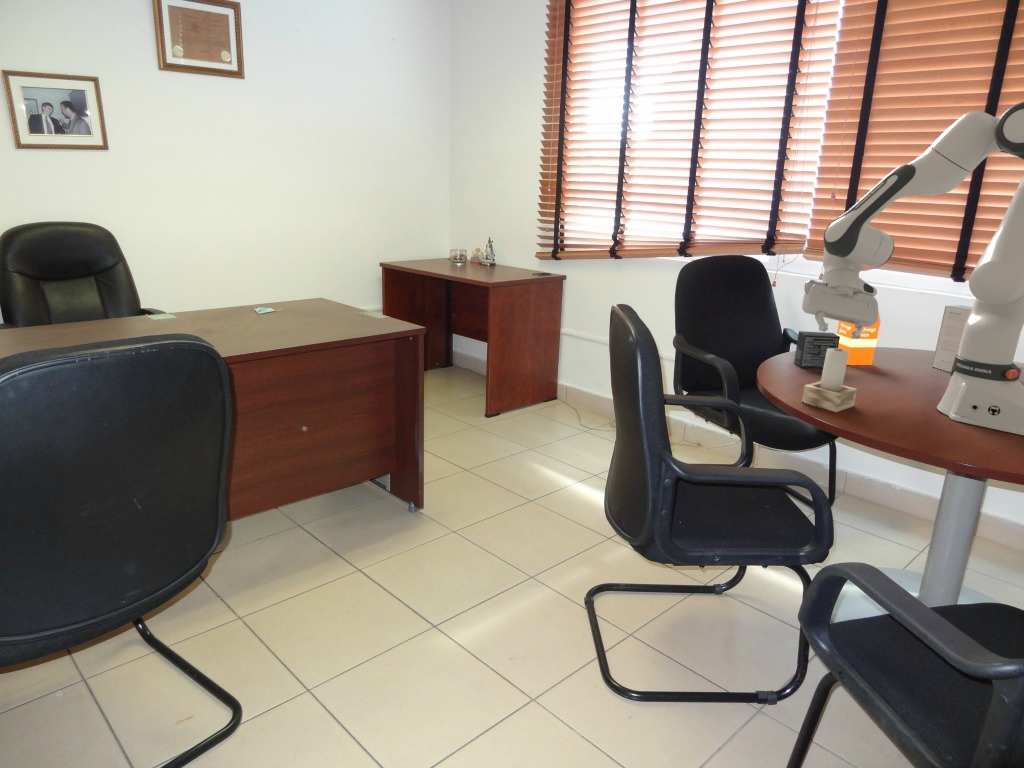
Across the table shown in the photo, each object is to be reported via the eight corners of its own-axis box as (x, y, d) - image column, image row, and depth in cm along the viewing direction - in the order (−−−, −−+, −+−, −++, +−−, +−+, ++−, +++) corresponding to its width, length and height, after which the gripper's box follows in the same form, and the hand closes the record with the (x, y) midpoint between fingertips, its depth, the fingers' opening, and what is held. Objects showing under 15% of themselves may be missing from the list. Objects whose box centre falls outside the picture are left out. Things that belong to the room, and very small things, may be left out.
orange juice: (831, 359, 213) (842, 298, 207) (855, 359, 215) (867, 298, 209) (846, 365, 206) (859, 302, 200) (872, 365, 207) (885, 302, 201)
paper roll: (843, 397, 166) (853, 350, 162) (833, 400, 163) (843, 352, 159) (824, 392, 170) (833, 345, 166) (814, 395, 167) (823, 347, 163)
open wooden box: (853, 406, 166) (857, 389, 165) (836, 412, 161) (839, 394, 159) (819, 396, 173) (822, 380, 172) (801, 402, 168) (804, 385, 166)
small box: (827, 364, 206) (833, 332, 203) (835, 370, 200) (841, 336, 197) (792, 362, 207) (798, 330, 204) (799, 368, 201) (805, 334, 198)
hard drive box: (996, 379, 197) (1013, 313, 191) (979, 380, 194) (996, 314, 189) (946, 365, 211) (961, 304, 205) (930, 367, 208) (944, 304, 202)
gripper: (812, 273, 173) (810, 321, 169) (882, 290, 175) (882, 338, 171) (798, 283, 179) (796, 329, 174) (866, 299, 181) (866, 346, 177)
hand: (839, 334), depth 173 cm, fingers open, 8 cm apart
